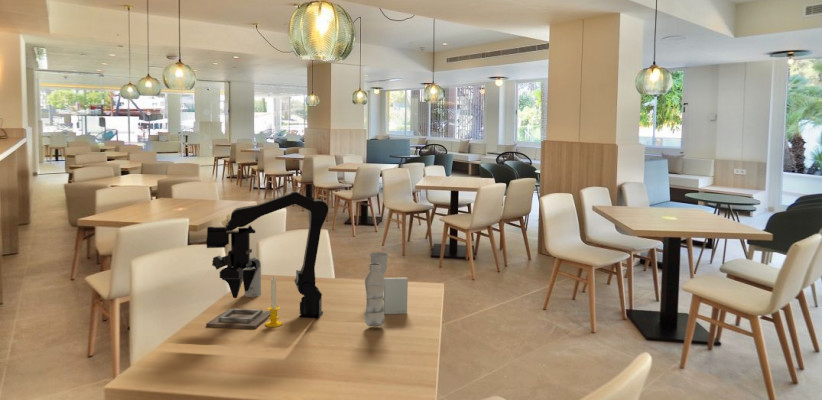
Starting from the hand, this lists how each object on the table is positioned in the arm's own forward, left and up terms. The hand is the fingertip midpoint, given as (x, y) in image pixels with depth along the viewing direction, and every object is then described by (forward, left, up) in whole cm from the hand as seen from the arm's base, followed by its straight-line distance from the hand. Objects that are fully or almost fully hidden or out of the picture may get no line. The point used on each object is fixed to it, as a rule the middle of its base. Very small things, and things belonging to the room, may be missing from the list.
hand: (240, 294), depth 177 cm
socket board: (0, 0, -9) cm, 9 cm away
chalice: (-41, -29, -9) cm, 51 cm away
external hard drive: (-49, -15, -9) cm, 52 cm away
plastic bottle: (-44, 0, -9) cm, 45 cm away
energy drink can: (+7, -28, -9) cm, 30 cm away
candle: (-12, +3, -9) cm, 15 cm away
